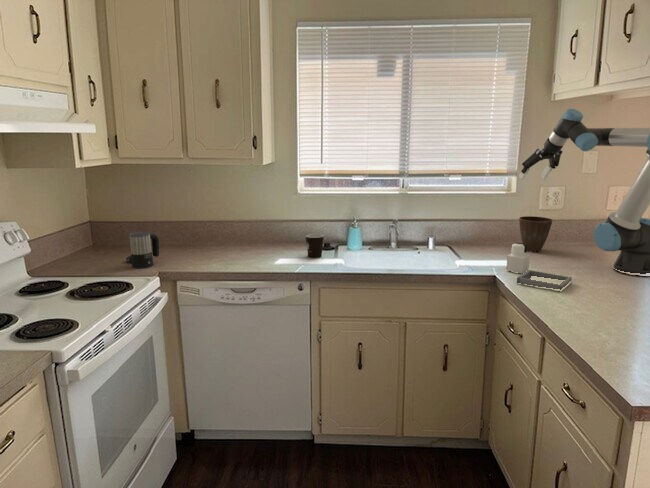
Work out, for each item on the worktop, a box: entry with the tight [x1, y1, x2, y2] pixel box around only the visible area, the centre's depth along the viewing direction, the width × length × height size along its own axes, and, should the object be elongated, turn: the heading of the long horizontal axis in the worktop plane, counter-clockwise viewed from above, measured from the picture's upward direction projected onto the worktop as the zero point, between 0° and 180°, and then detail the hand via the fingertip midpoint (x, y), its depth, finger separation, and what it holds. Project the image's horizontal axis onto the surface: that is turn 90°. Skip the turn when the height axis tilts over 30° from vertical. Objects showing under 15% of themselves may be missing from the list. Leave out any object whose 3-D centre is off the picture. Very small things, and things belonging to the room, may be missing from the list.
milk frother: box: [125, 231, 160, 269], centre depth 218 cm, size 14×16×15 cm
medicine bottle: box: [505, 242, 531, 274], centre depth 204 cm, size 7×7×12 cm
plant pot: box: [518, 215, 553, 252], centre depth 240 cm, size 15×15×16 cm
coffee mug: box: [305, 233, 325, 259], centre depth 232 cm, size 12×9×10 cm
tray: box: [516, 269, 573, 290], centre depth 188 cm, size 16×14×2 cm
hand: (531, 177), depth 235 cm, fingers open, 13 cm apart
